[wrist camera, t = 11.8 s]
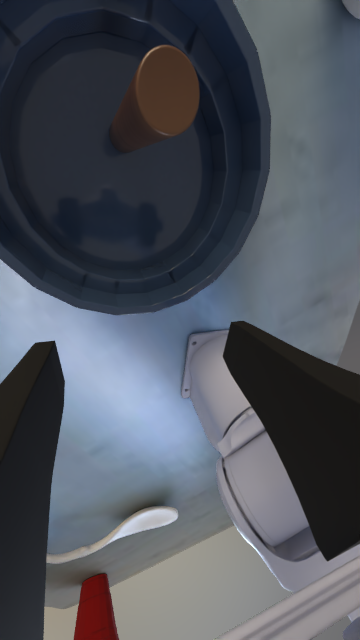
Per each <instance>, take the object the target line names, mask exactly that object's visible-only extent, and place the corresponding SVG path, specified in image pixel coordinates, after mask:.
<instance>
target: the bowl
mask: <svg viewBox="0 0 360 640" xmlns="http://www.w3.org/2000/svg"><path fill="white" fill-rule="evenodd" d="M159 45H170V46H173V47H176V48H178V49H179V50H181V51H182V52H183V53H184V54H185V55H186V56H187V57H188V59H189V60H190V62H191V63H192V65H193V67H194V69H195V72H196V74H197V78H198V82H199V90H200V98H199V106H198V111H197V114H196V116H195V119H194V121H193V122H192V124H191V125H190V127H189V128H188V129H187V130H186V131H185V132H183V133H181V134H179V135H177V136H174V137H171V138H168V139H166V140H163V141H160V142H157V143H154V144H151V145H149V146H146V147H143V148H140V149H137V150H134V151H131V152H128V153H123V152H120V151H118V150H117V149H116V148H115V147H114V146H113V144H112V142H111V140H110V136H109V129H110V126H111V123H112V121H113V119H114V117H115V115H116V113H117V111H118V109H119V106H120V104H121V102H122V100H123V98H124V96H125V94H126V92H127V90H128V87H129V85H130V83H131V81H132V79H133V77H134V75H135V73H136V71H137V68H138V66H139V64H140V62H141V60H142V59H143V57H144V56H145V54H146V53H147V52H148V51H149V50H151V49H152V48H154V47H156V46H159ZM256 51H257V49H256V47H255V45H254V42H253V40H252V38H251V36H250V34H249V32H248V30H247V28H246V26H245V24H244V22H243V20H242V18H241V16H240V14H239V12H238V10H237V8H236V6H235V4H234V2H233V0H0V259H1V260H2V261H3V262H5V263H6V264H7V265H8V266H9V267H11V268H12V269H13V270H14V271H15V272H17V273H18V274H19V275H20V276H21V277H23V278H24V279H25V280H26V281H27V282H29V283H30V284H31V285H32V286H33V287H36V288H37V289H39V290H41V291H43V292H45V293H47V294H49V295H51V296H53V297H56V298H58V299H60V300H62V301H64V302H66V303H68V304H70V305H72V306H74V307H78V308H81V309H86V310H91V311H97V312H102V313H107V314H112V315H128V314H141V313H153V312H156V311H159V310H162V309H165V308H168V307H170V306H173V305H176V304H179V303H181V302H184V301H186V300H188V299H190V298H191V297H192V296H194V295H195V294H197V293H198V292H200V291H201V290H202V289H204V288H205V287H207V286H208V285H210V284H211V283H213V282H214V280H216V279H217V278H218V277H219V276H220V274H221V273H222V272H223V271H224V270H225V269H226V267H227V266H228V265H229V264H230V263H231V262H232V261H233V259H234V258H235V257H236V256H237V255H238V254H239V252H240V250H241V248H242V246H243V244H244V243H245V241H246V239H247V237H248V235H249V233H250V231H251V229H252V227H253V225H254V223H255V221H256V219H257V217H258V215H259V211H260V207H261V203H262V199H263V195H264V191H265V187H266V183H267V179H268V175H269V169H270V131H271V115H270V108H269V103H268V99H267V94H266V89H265V84H264V79H263V75H262V70H261V65H260V60H259V56H258V52H256Z"/></svg>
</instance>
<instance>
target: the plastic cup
mask: <svg viewBox="0 0 360 640" xmlns="http://www.w3.org/2000/svg"><path fill="white" fill-rule="evenodd" d="M74 640H119V638H118V634H117V628H116V624H115V618H114V612H113V606H112V599H111V594H110V590H109V583H108V578H107V575H106V574H100V575H96V576H94V577H91V578H89V579H87V580H86V581H84V582H83V583H82V587H81V593H80V601H79V606H78V612H77V620H76V627H75V634H74Z"/></svg>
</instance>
